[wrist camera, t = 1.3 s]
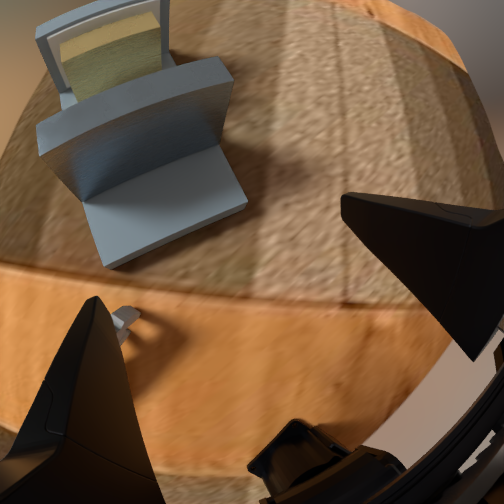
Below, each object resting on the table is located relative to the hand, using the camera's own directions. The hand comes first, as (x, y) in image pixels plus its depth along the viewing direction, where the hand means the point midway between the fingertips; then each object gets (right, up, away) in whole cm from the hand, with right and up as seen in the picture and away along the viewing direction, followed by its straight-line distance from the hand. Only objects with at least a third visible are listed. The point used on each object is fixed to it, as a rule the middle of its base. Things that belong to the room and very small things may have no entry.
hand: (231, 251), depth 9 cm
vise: (-10, +11, +14) cm, 21 cm away
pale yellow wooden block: (-12, +16, +13) cm, 23 cm away
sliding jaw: (-8, +8, +12) cm, 16 cm away
